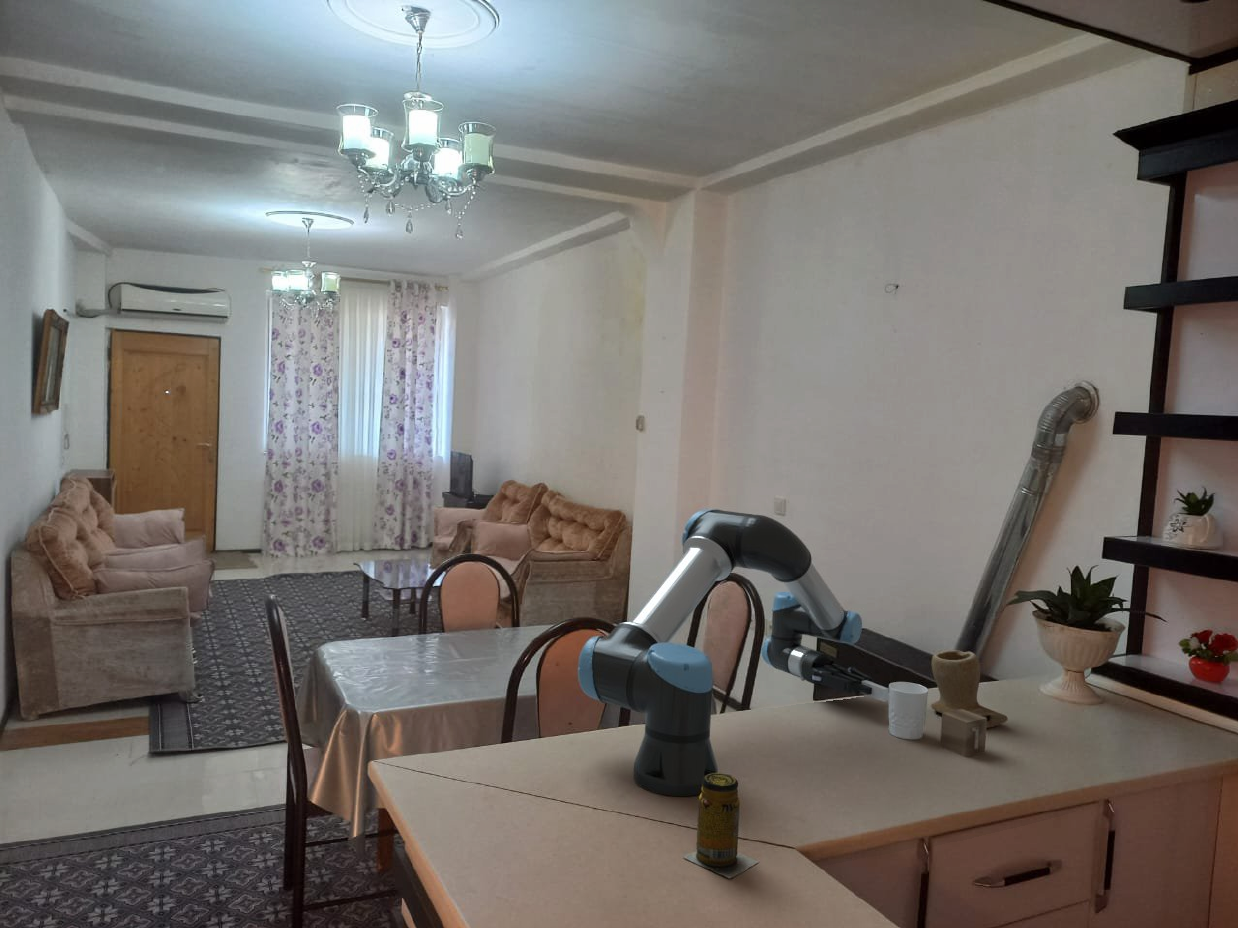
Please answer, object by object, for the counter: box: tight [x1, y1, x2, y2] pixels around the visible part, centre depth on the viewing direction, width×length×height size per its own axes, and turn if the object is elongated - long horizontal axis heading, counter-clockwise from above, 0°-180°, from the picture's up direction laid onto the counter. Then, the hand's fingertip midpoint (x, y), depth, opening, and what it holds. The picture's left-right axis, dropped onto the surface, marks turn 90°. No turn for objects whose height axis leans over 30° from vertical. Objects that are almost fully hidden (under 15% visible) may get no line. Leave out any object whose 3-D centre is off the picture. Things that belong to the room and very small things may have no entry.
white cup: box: [888, 681, 929, 741], centre depth 187 cm, size 8×8×10 cm
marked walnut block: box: [939, 709, 987, 758], centre depth 180 cm, size 6×6×7 cm
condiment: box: [683, 772, 759, 879], centre depth 131 cm, size 7×8×12 cm
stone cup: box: [930, 649, 1009, 729], centre depth 198 cm, size 15×12×15 cm
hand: (885, 695), depth 192 cm, fingers closed
